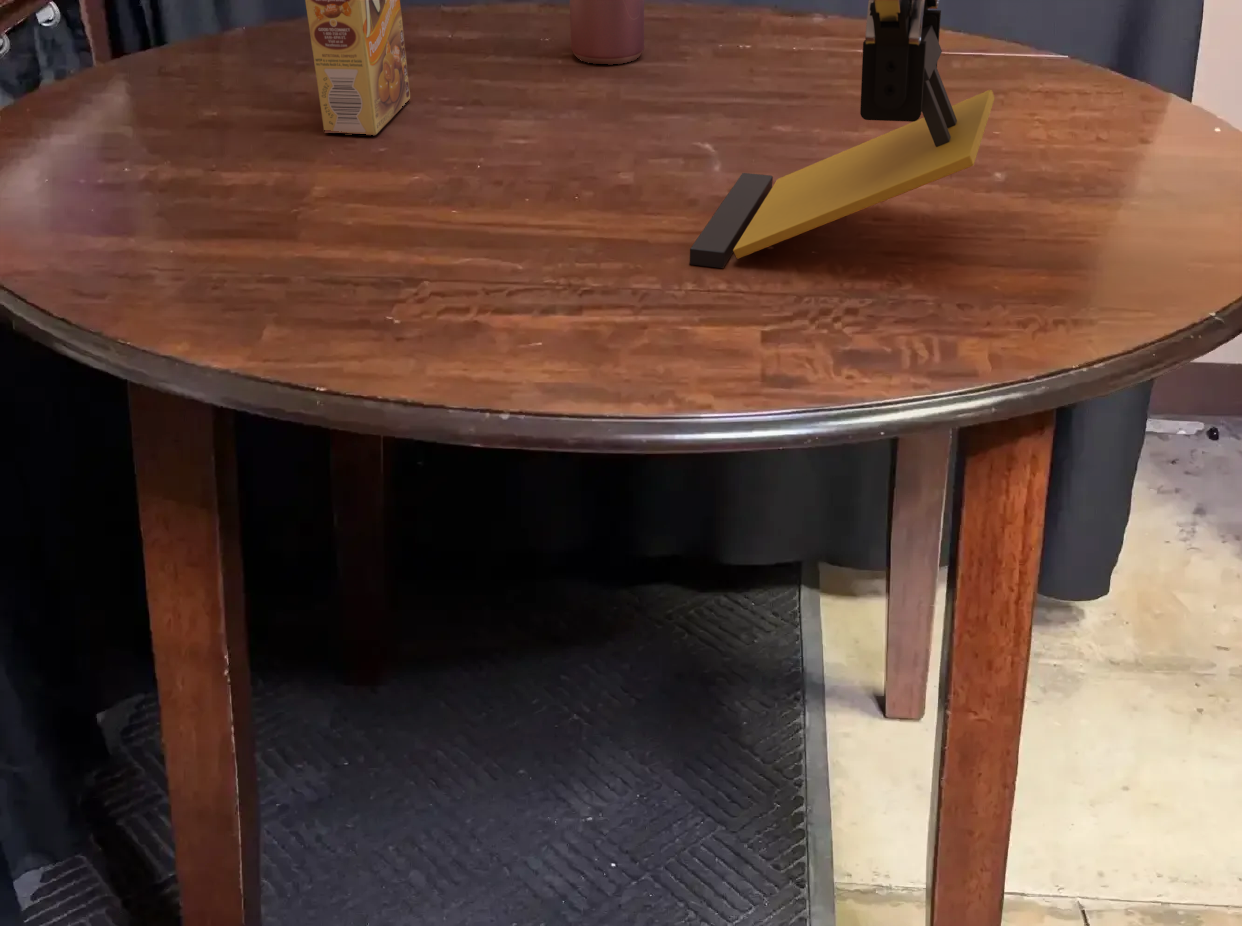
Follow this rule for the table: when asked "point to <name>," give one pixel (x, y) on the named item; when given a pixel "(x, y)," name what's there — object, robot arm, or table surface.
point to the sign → (875, 164)
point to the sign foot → (730, 221)
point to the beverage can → (607, 30)
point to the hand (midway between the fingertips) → (899, 98)
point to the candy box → (358, 62)
